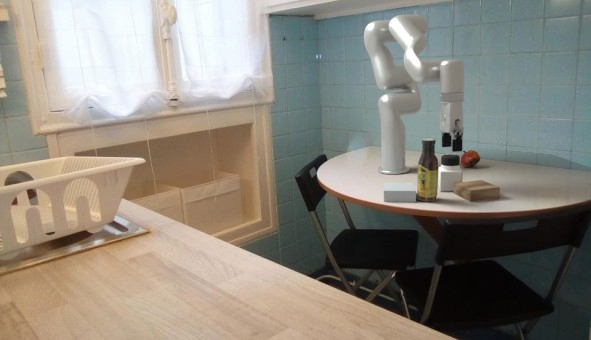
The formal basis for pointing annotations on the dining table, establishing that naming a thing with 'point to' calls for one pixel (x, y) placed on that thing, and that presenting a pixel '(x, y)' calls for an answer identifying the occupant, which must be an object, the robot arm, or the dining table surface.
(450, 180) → the medicine bottle
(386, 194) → the grey block
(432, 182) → the sauce bottle
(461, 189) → the walnut block
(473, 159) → the pomegranate
